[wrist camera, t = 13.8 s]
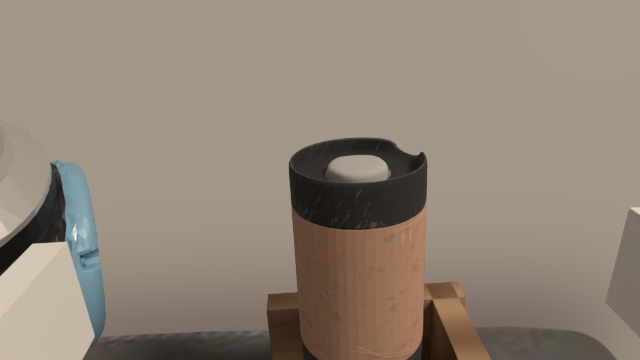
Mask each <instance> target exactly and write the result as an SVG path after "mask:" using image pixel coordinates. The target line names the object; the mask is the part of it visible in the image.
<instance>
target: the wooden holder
mask: <svg viewBox="0 0 640 360" xmlns="http://www.w3.org/2000/svg"><path fill="white" fill-rule="evenodd" d="M464 306H465V296H464V294H463V292H462V290H461V288H460V287H459V285H458V283H457V282H445V283H430V284H424V306H423V334H422V350H421V360H491V359H490V357H489V355H488V353H487V351H486V349H485V347H484V345H483V343H482V341H481V340H480V338H479V336H478V334H477V332H476V330H475V328H474V326H473V324H472V322H471V320H470V318H469V316H468V315H467V313H466V311H465V309H464ZM267 317H268V326H269V335H270V343H271V352H272V360H304V357H303V349H302V341H301V330H300V316H299V302H298V292H296V293H280V294H269V295H268V303H267Z"/></svg>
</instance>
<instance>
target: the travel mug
mask: <svg viewBox="0 0 640 360" xmlns="http://www.w3.org/2000/svg"><path fill="white" fill-rule="evenodd" d="M289 177H290V190H291V204H292V219H293V233H294V246H295V259H296V274H297V289H298V302H299V316H300V330H301V341H302V349H303V357H304V360H421V350H422V334H423V306H424V268H425V267H424V266H425V230H426V195H427V192H426V191H427V159H426V156H425V154H424V153H423V152H421V153H420V154H419V155H417V156H415V155H410V154H407V153H405V152H403V151H401V150H400V149H399V148H398V147H397V146H396V144H395V143H394V142H392V141H390V140H386V139H381V138H344V139H336V140H329V141H324V142H320V143H316V144H313V145H310V146H307V147H305V148H303V149H301V150H299V151H298V152H296V153H295V154H294V155H293V156H292V157H291V159H290V162H289Z"/></svg>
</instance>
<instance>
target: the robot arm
mask: <svg viewBox="0 0 640 360" xmlns="http://www.w3.org/2000/svg"><path fill="white" fill-rule="evenodd" d="M98 254H99V250H98V244H97V232H96V226H95V220H94V214H93V209H92V203H91V198H90V193H89V189H88V185H87V181H86V177H85V174H84V172H83V170H82V168H81V167H80V166H79V165H77V164H75V163H70V162H69V163H63V162H60V161H54V162H50V161H49V158H48V156H47V154H46V152H45V151H44V149H43V147H42V146H41V145H40V143H39V141H38V140H37V139H35V138H34V137H33V136H32V135H31V134H29V133H28V132H26V131H24V130H23V129H21V128H19V127H17V126H14V125H12V124H10V123H7V122H4V121H0V360H82V359H83V357H84V355H85V354H86V352H87V350H88V348H89V347H90V346H92V345H93V344H94V343H95V342H96V341H97V340H98V338H99V337H100V335H101V334H102V331H103V329H104V325H105V316H106V314H105V313H106V312H105V295H104V285H103V277H102V269H101V263H100V259H99V258H98ZM606 303H607V304H608V305H609V307H610V308H612V310H613V311H614V312H615V313H616V314H617V315H618V316H619V317H620V318H621V319H622V320H623V321H624V322H625V323H626V324H627V325H628V326H629V327H630V328H631V329H632V330H633V331H634V332H635V333H636V334H637V335H638V336H639V337H640V207H636V208H629V212H628V216H627V219H626V223H625V228H624V231H623V236H622V239H621V243H620V247H619V251H618V255H617V259H616V263H615V267H614V271H613V274H612V279H611V282H610V286H609V290H608V294H607V298H606Z"/></svg>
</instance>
